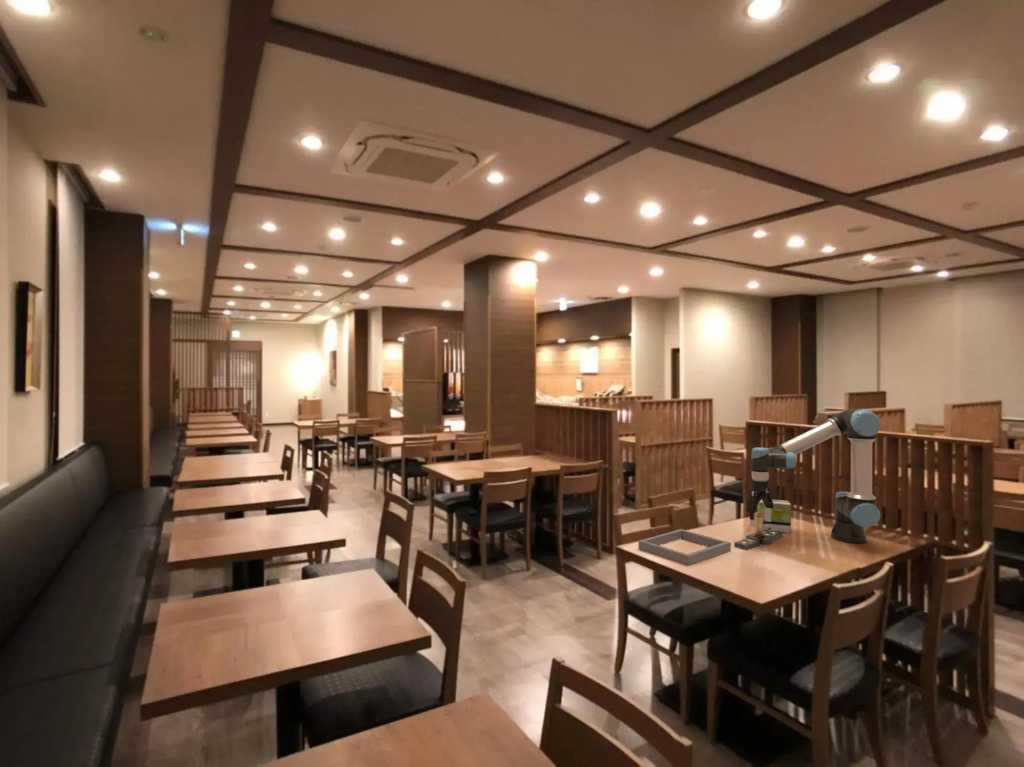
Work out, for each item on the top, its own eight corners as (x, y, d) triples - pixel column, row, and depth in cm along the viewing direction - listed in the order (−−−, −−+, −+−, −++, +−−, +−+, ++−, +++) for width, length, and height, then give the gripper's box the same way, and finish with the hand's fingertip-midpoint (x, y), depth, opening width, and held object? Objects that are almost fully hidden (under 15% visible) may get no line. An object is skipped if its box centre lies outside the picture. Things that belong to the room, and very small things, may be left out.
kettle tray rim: (730, 551, 258) (730, 542, 258) (688, 565, 238) (688, 556, 238) (680, 537, 279) (680, 529, 279) (638, 549, 260) (638, 540, 260)
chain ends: (786, 537, 279) (786, 532, 278) (749, 550, 258) (749, 545, 258) (767, 533, 286) (767, 528, 286) (731, 545, 266) (731, 540, 266)
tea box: (759, 530, 291) (759, 502, 291) (756, 525, 301) (757, 497, 301) (791, 533, 287) (791, 504, 287) (787, 527, 297) (788, 499, 296)
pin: (765, 542, 272) (766, 513, 271) (761, 543, 269) (761, 514, 269) (757, 539, 275) (757, 511, 275) (752, 541, 272) (753, 512, 272)
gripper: (766, 475, 282) (766, 517, 282) (738, 482, 267) (739, 526, 267) (780, 477, 276) (781, 520, 276) (753, 484, 261) (754, 530, 261)
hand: (760, 523), depth 272 cm, fingers open, 13 cm apart
